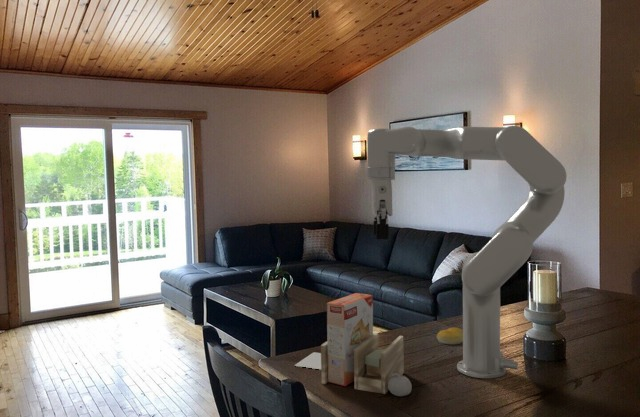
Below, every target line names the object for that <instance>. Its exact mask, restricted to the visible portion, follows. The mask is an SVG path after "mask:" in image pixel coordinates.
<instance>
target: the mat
mask: <svg viewBox="0 0 640 417" xmlns="http://www.w3.org/2000/svg"><path fill="white" fill-rule="evenodd" d="M293 366H294V367H295V366H296V367H297V368H302V367H306V368H305V369H308V368H312V369H311V370H315V369H319V370H318V371H321V352H312V353H310V354H309V355H308V356H306V357H305V358H303V359H301V360H300V361H299V362H297V363H295V364H294V365H293Z"/></svg>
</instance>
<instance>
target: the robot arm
mask: <svg viewBox="0 0 640 417" xmlns="http://www.w3.org/2000/svg"><path fill="white" fill-rule="evenodd" d="M366 139H367V140H366V143H367V148H366V149H367V152H366V153H367V156H366V158H367V161H366V162H367V163H366V164H367V165H366V167H367V169H366V171H367V175H366V176H367V177H366V179H367V180H368V181H371V210H372V214H373V215H374V216H373V218H374V220H373V235H375V236H376V237H375V238H376V240H388V239H389V218H388V216H389V217H392V216H393V187H392V186H393V184H392V181H395V180H396V155H401V156H409V157H431V158H432V157H433V158H434V157H436V158H437V157H438V158H449V159H456V160H479V161H502V162H503V161H506V163H507V164H508V165H509V166H510V167H511V168H512V169H513V170H514V171H515V172H516V173H517V174H518V175H519V176H520V177H521V178H523V180H524V181H525V182H526V183H527V184H528V186H529V193H528V196H527V198H525V200H524V202H523V203H522V204H521V205H520V206H519V207H518V208H517V209H516V211H514V213H513V214H512V215H510V217H508V218H507V219H506V220H505V221H504V222H503V223H502V224H501V225H500V226H498V227H497V228H496V230H494V232H493V233H492V236H491V238H490V240H489V241H488V242H487V243H486V244H485V245H484V246H483V247H482V248H481V249H480V250H479V251H477V252H473V253H472V254H470V255H468V256H467V257H466V258H465V260H464V261H463V264H462V268H461V282H462V331H463V343H462V360H460V361H458V363H457V364H456V369H457V371H458V372H459V373H461V375H462V374H463V375H465V376H467V377H471V378H477V379H495V378H501V377H503V376H505V375H506V374H507V369H510V370H517V371H518V368H519V362H518V361H515V359H512V358H506V357H504V352H501V287H502V286H503V285H504V284H505V283H506V282H507V281H508V280H509V279H510V278H511V277H513V275H514V274H515V273H516V272H517V271H519V269H520V268H521V267H522V266H523V265H524V264H525V263H526V262H527V260H529V257H530V258H531V255H532V252H533V249H534V243H535V241H537V240H538V238H540V237H541V235H543V233H544V232H545V231H546V230H547V229H548V228H549V227H550V226H551V225H552V224H553V222H554V221H555V220H556V218H557V217H558V216H559V214H560V212H561V211H562V208H563V205H564V201H565V184H566V182H567V177H568V176H567V171H566V169H565V166H564V164H562V163H561V162H560V161H559V160H558V159H557V158H556V157H555V156H554V155H553V154H552V153H551V152H550V151H548V150H547V149H546V148H545V147H544V146H543V145H542V144H541V143H540V142H539V141H538V140H537V139H536V138H535V137H533V135H532V134H531V133H530V132H529V131H528V130H527V129H525V128H524V127H522V126H518V125H510V126H504V127H503V126H499V127H498V126H494V127H493V126H459V127H455V128H449V129H419V128H418V129H417V128H415V127H412V126H405V127H397V128H373V129H370V130H369V131H367V138H366Z"/></svg>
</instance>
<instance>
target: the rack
mask: <svg viewBox="0 0 640 417" xmlns="http://www.w3.org/2000/svg"><path fill="white" fill-rule="evenodd" d="M377 349H379V333H378V332H373V335H371V336H370V337H369V338H368V339H366V340H365V341H364V342H363V343H361V344H360V345H359V346H357V347H356V348H355V349H354V381H353V382H354V383H353V384H354V390H359V391H365V392H371V393H377V394H383V395H386V394H387V393H388V391H389V389H388V382H389V380H390V378H391V377H393V376H392V374H394V373H398V374H399V375H403V374H404V373H405V372H404V371H405V367H404V366H405V365H404V364H405V362H404V361H405V360H404V352H405V351H404V336H403V335H399V336H398V337H396V338H395V339H394V340H393V341H392V342H391V343H390V344H389V345H388V346H387V347H386V348H384V349H383V351H382V352H381V380H378V379H371V378H365V377H364V375H365V374H366V373H367V364H365V356H367V355H369V354H370V353H372V352H374V351H375V350H377ZM320 353H321V370H320V372H321V384H322V385H326V384H327V383H329V382H328V355H327V341H325V342H323V343H322V344H321V345H320ZM395 376H396V375H395Z"/></svg>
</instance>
